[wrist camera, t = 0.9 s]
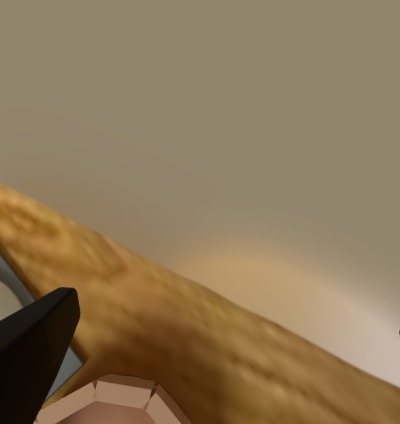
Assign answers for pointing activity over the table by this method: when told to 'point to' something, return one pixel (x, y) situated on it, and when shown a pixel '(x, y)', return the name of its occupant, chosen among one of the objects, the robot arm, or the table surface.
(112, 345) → the table surface
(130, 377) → the bowl
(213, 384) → the table surface
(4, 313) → the lid
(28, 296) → the mat
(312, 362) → the table surface
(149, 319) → the table surface
